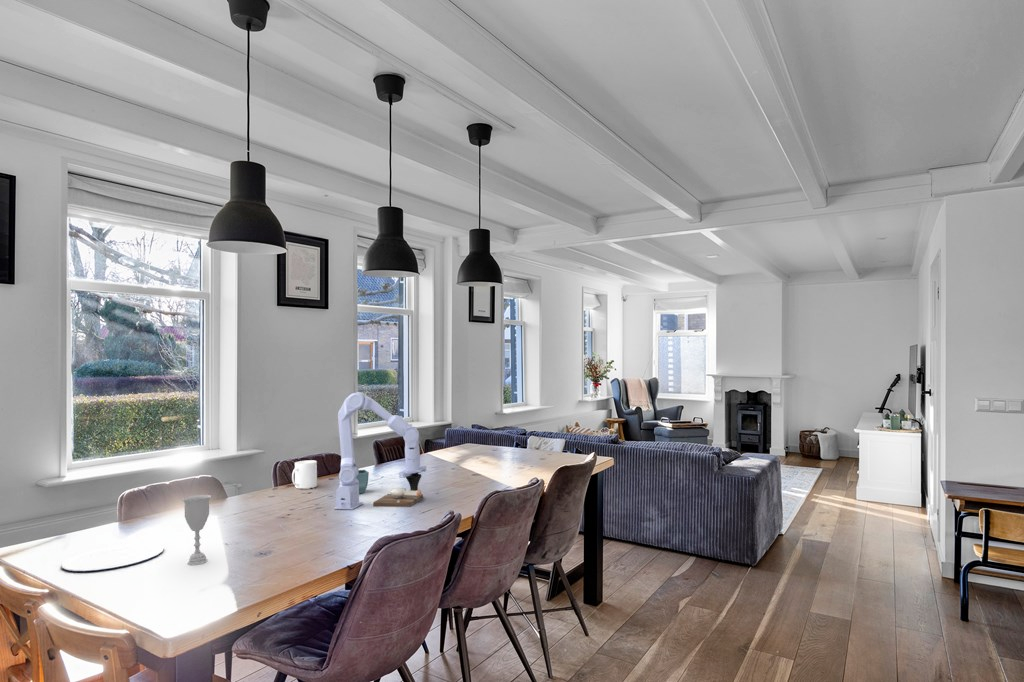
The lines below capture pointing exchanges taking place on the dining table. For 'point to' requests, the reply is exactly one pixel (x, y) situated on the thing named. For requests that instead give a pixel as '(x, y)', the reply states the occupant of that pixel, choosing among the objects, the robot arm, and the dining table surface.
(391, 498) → the strip board
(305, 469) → the mug
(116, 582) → the dining table surface
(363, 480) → the flower pot
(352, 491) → the robot arm
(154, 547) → the plate
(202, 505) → the chalice
